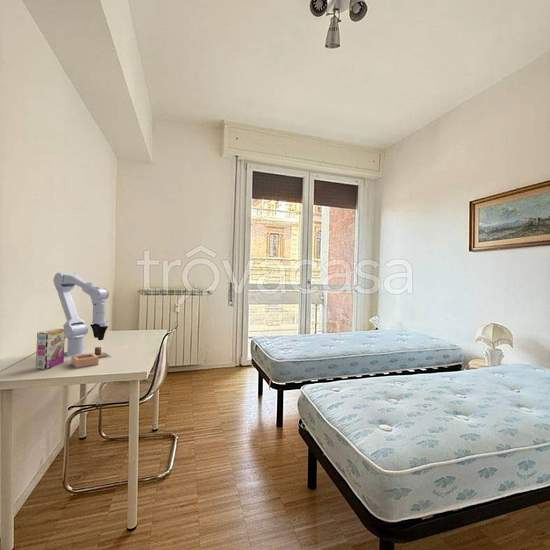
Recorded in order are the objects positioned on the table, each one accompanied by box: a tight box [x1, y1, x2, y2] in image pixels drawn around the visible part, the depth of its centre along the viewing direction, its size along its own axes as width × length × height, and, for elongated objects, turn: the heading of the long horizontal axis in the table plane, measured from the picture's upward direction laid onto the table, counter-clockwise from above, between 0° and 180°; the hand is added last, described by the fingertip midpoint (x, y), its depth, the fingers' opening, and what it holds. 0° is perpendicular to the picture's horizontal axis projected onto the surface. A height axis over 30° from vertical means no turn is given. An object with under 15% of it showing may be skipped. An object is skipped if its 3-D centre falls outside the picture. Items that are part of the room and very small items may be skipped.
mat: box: [99, 353, 112, 360], centre depth 154 cm, size 10×10×1 cm
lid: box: [93, 346, 108, 359], centre depth 154 cm, size 8×8×4 cm
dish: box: [71, 352, 100, 369], centre depth 140 cm, size 9×9×4 cm
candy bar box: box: [35, 328, 66, 370], centre depth 138 cm, size 11×5×16 cm, turn 178°
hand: (98, 338), depth 154 cm, fingers open, 7 cm apart
